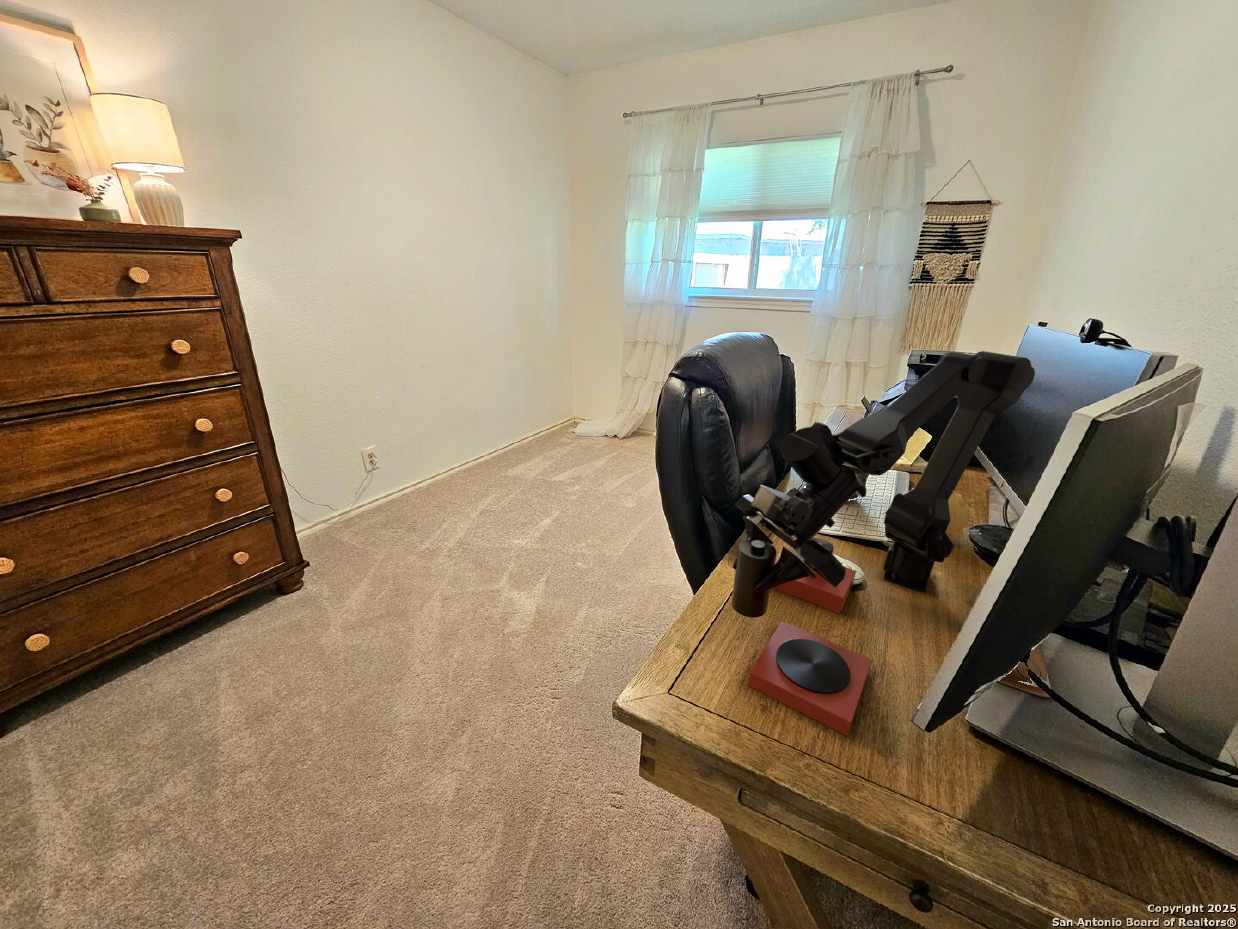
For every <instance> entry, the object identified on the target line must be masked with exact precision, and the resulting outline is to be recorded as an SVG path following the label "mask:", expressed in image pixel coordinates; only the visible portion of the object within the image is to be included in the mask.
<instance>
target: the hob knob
mask: <svg viewBox="0 0 1238 929" xmlns="http://www.w3.org/2000/svg"><path fill="white" fill-rule="evenodd" d="M812 540H814V541H815V542H817V543H818V544H820V545H821V546H823V547H824V548H825V549H827V550H828V551H830V552H831V553H832V554H833V553H834V549H835V547H834V544H833V543H832V542H830V541H829V540H827V539H825V538H820V537H814V538H813V539H812ZM833 555H834V554H833ZM816 572H818V570H817V571H816Z"/></svg>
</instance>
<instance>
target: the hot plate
mask: <svg viewBox="0 0 1238 929" xmlns="http://www.w3.org/2000/svg"><path fill="white" fill-rule="evenodd" d="M872 661H873V659H872V658H870V657H867V656H865V655H863V654H860V653H859V652H857V651H854V650H851V649H849V648H846V647H845V646H842V645H839V644H837V643H835V642H833V641H831V640H828V639H825V638H823V637H820V636H818V635H815V634H813V633H811V632H809V631H806V630H804V629H802V628H800V627H798V626H794V625H792V624H790V623H788V622H785V621H782V620H781V622H780V623H779V625H778V627H777V628H776V630H775V631H774V633H773V634H772V636H771V638H770V640H769V641H768V643H767V644H766V645H765V647H764V649H763V650H762V652H761V654H760V655H759V657H758V658H757V660H756V662H755V663H754V665H753V666H752V668H751V669H750V671H749V676H748V682H747V686H749V687H751V688H753V689H754V690H757V691H758V692H761V693H762V694H764V695H766V696H768V697H770V698H771V699H773V700H775V701H778V702H780V703H782V704H784V705H786V706H788V707H789V708H791V709H793V710H795V711H798V712H799V713H801V714H803V715H805V716H807V717H809V718H811V719H812V720H815V721H817V722H818V723H821V724H823V725H824V726H825V727H829V728H830V729H832V730H834V731H836V732H838V733H840V734H841V735H844V736H846V737H848V735H849V732H850V729H851V727H852V723H853V721H854V717H855V714H856V711H857V708H858V704H859V702H860V699H861V696H862V693H863V690H864V687H865V684H866V681H867V678H868V675H869V672H870V668H871V664H872Z"/></svg>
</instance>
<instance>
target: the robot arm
mask: <svg viewBox="0 0 1238 929" xmlns="http://www.w3.org/2000/svg"><path fill="white" fill-rule="evenodd" d="M1035 375H1036V370H1035V367H1033V366H1032V362H1031V360H1030V359H1029V358H1028V357H1025V356H1024V357H1023V356H1018V355H1010V354H1005V353H1000V352H999V353H998V352H994V351H993V352H992V351H986V350H981V351H978V352H976V353H975V354H970V353H964V352H959V351H950V352H945V353H944V354H942V355H941V356H940V357H939V358H938V360H937V362H936V365H935V366H933V367H932V368H931V369H930V370H929V371H928V372H927V373H925V374H924V375H923V376H922V377H921V378H920V379H919V380H917V381H916V382H915V383H913V384H912V386H910V387H909V388H908V389H907V390H906V391H905V392H904V393H902V394H901V395H900V396H899V397H898V398H897V399H895V400H894V401H893V402H891V404H889V405H888V406H887V407H886V408H885V409H883V410H882V411H880V412H878V413H874V414H871V415H868V416H864V417H861V418H859V420H857V421H856V422H854V423H852V424H850V425H849V426H847V427H846V428H845V429H843V431H841V432H836V433H832V430H831V429H830V427H829V426H828V424H825V423H822V422H820V421H815V422H814V423H812V425H811V426H808V427H807V426H806V427H802V428H799V429H797V430H795V431H793V432H792V433H789V434H788V435H787V436H786V437H785V438H784V440H783V441H782V443H781V446H780V454H781V456H782V457H783V459H784V460H785V461H786V462H787V463H788V464H789V466H790V467H791V468H792V470H793V471H794V473H796V475H797V476H798V477H799V478H800V479H801V480H802V481H803V482H804V483H805V484H804V485H803V486H802V487H801V488H800V490H799V489H797V488H796V487H793V488H790V489H789V490H788V491H787V492H786V493H784V492H782V491H779V490H777V489H775V488H774V489H773V488H771V487H769V486H765V485H763V484H761V485H760V486H759V488H758V490H757V492H756V494H755V496H754V497H753V496H752V495H751V494H746V495H741V497H740V498H739V499H738V500H737V501H736V502H735V503H734V506H735V508H736V509H738V510H739V511H740V512H741V513H742V514H743V516H742V520H743V521H744V523H745V534H744V537H743V540H742V541H745V540H749V539H756V540H762V541H765V542H767V543H769V544H771V545H772V546H773V544H774V542H773V540H772V539H771V538H770V537H769V535H770V534H771V533H772V534H773V535H775V537H777V538H778V539H779V540H781V541H783V542H784V543H785V544H786V545H788V546H789V547H790V548H791V549H792V550H793V551H792V552H790V551H789V550H788V549H787V548H788V547H786V546H784V545H783V546H782V549H781V552H780V553H781V556H780V559H779V560H778V561H777V563H776V564H775V565H774V566H773V567H772V568H771V569H770V570H769V571H768V572H767V573H766V575H765V576H764V577H763V578H762V579H761V580H760V581H759V583H758V584H757V586H756V587H755V590H756V591H758V592H759V593H761V592H764V591H766V590H769V589H775V588H774V587H777V586H779V585H782V584H785V583H787V582H791V581H794V580H798V579H801V578H805V577H809V576H810V577H812V578H813V579H814V578H816V575H815V574H814V573H815V572H816V571H817V570H818V573H819V575H820V576H821V577H822V578H823V579H825V580H826V581H827V582H829V583H830V584H831V585H832V586H834V587H835V588H836V587H837V586H838V585H839V584H840V583H841V581H842V580H843V579H844V577H845V572H846V568H847V567H846V568H845V566H844V565H843V564H842V563H841V561H840V560H839V559H838V558H837V557H836V556H835V554H832V553H831V552H830V551H828V550H827V549H825V548H824V547H823V546H821V545H820V544H818V543H817V542H815V541H814V540H812V539H813V538H815V537H816V536H817V534H819V532H820V531H821V530H822V529H823V528H824V527H825V526H826V527H828V528H830V529H831V528H833V526H834V525H835V524H836V522H835V521H834V519H833V518H834V516H835V515H836V514H838V512H839V511H840V510H841V509H842V508H843V507H844V505H846V504H845V503H846V502H847V501H848V500H849V499H850V498H851V497H852V496H853V495H854V494H857V495H859V496H858V497H860V498H865V497H867V486H866V484H867V479H866V478H864V477H862V476H860V475H858V474H856V473H855V472H854V471H853V470H852V469H851V468H850V467H848V466H846V465H843V463H844V462H845V463H847V464H849V465H851V466H853V467H855V468H858V469H860V470H862V471H864V472H866V473H868V474H869V476H870V475H871V476H883V475H884V474H886V473H887V472H888V471H890V470H891V468H893V467H894V466H895V464H896V463H897V462H898V461H899V460H900V459H901V458H902V457H903V455H905V453H906V450H907V446H908V440H909V438H910V437H911V436H912V435H913V434H914V433H915V432H917V430H918V429H920V428H921V427H922V426H924V424H926V423H927V422H928V421H929V420H930V419H931V418H932V417H934V416H935V415H936V414H937V413H938V412H940V410H941V409H943V408H944V407H946V405H947V404H949V402H951V401H952V400H953V399H954V398H955V397H957V406H956V409H955V411H954V413H953V415H952V417H951V418H950V421H949V422H948V424H947V426H946V428H945V430H944V432H943V433H942V435H941V437H940V439H939V440H938V443H937V444H936V447H935V449H934V450H933V452H932V454H931V456H930V459H929V461H928V462H927V464H926V465H925V468H924V470H923V471H922V473H921V475H920V477H919V479H918V480H917V483H916V485H915V486H914V487H913V488H911V490H908V491H907V492H905V493H903V494H902V493H900V492H898V493H896V494H895V495H894V496H893V499H892V501H891V504H890V505H889V507H888V508H887V509H886V511H885V512H884V514H885V516H884V520H883V524H884V533H885V535H884V536H885V538H886V539H889V540H891V541H893V544H890V545H889V547H888V550H887V554H886V556H885V560H884V563H883V567H882V570H883V571H884V574H883V579H884V580H885V581H889V582H892V583H896V584H898V585H900V586H904V587H907V588H910V589H913V590H916V591H919V592H922V593H927V591H928V588H929V584H930V579H931V575H932V572H933V568H934V565H935V562H936V563H944V562H945V559H947V558H949V557H950V555H951V554H952V552H953V550H954V548H955V545H954V543H953V542H952V540H951V539H950V538H949V535H948V536H947V534H946V530H947V527H948V525H949V523H950V520H951V519H950V511H949V504H948V500H949V498H950V496H951V494H952V492H953V491H955V489H956V487H957V485H958V484H959V482H960V480H961V478H962V476H963V475H964V472H965V470H966V469H967V467H968V465H969V464H970V462H971V460H972V458H973V456H974V454H975V452H976V451H977V449H978V447H979V445H980V444H981V441H982V440H983V438H984V437H985V435H986V433H987V431H988V430H989V428H990V425H991V424H992V422H993V420H994V418H995V417H996V416H997V415H999V414H1001V413H1002V412H1004V411H1005V410H1007V409H1009V408H1011V407H1012V406H1014V405H1015V404H1016V403H1017V402H1018V401H1019V400H1020V398H1021V397H1022V396H1023V394H1024V392H1025V391H1026V390H1027V389H1029V387H1030V386H1031V385H1032V383H1033V381H1034V379H1035ZM785 547H786V548H785ZM737 556H738V554H737V555H736V557H735V560H734V562H733V564H732V569H733V570H735V571H736V564H737Z"/></svg>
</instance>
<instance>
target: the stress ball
mask: <svg viewBox="0 0 1238 929" xmlns="http://www.w3.org/2000/svg"><path fill="white" fill-rule="evenodd" d="M948 504H949V511H950V519H951V520H950V523H949V525H948V527H947V530H946V534H947V536H948V537H949V536H951V535H954V534H956V533H958V532H961V531H963V530H964V529H965V527H966V524H967V522H968V520H969V519H970V507H969V506H968V504H967V502H966V499H965V498H964V497H963V496H962V494H959V493H958V492H956V491H955V490H954V491H953V492H952V494H951V496H950V498H949V500H948Z"/></svg>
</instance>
